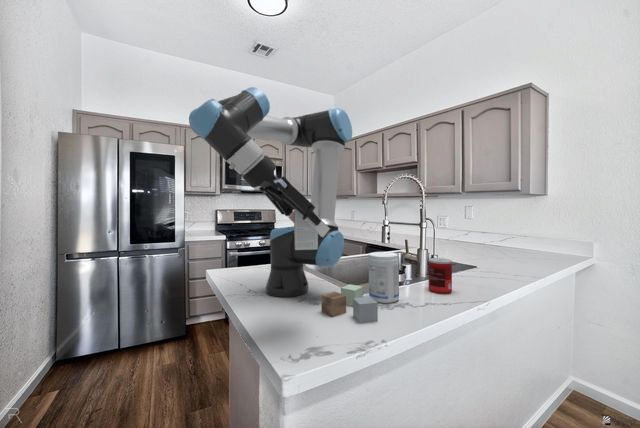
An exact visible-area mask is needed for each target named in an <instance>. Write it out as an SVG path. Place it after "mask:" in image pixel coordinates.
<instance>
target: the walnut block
mask: <svg viewBox="0 0 640 428" xmlns="http://www.w3.org/2000/svg"><path fill="white" fill-rule="evenodd" d="M320 296H321V299H320V300H321V312H322V313H323V314H326V315H328V316H329V317H331V318H334V317H338V316H341V315H343V314H347V305H346V295H343V294H341V292H337V291H331V292H327V293H324V294H321V295H320Z"/></svg>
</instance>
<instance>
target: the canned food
mask: <svg viewBox="0 0 640 428" xmlns="http://www.w3.org/2000/svg"><path fill="white" fill-rule="evenodd" d="M427 268H428V274H427V275H428V276H427V277H428V280H427V281H428V290H429V291H430V292H431V293H435V294H439V295H440V294H441V295H448V294H451V293H452V290H453V261H452V259H450V258H446V257H445V258H443V257H433V258H432V257H431V258H428V267H427Z"/></svg>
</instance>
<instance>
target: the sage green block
mask: <svg viewBox="0 0 640 428" xmlns="http://www.w3.org/2000/svg"><path fill="white" fill-rule="evenodd" d="M340 294H343V295H346V306H350V307H353V298H362V297H364V286H361V285H356V284H351V283H350V284H347V285H346V284H345V286H342V287H340Z"/></svg>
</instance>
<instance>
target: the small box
mask: <svg viewBox="0 0 640 428" xmlns="http://www.w3.org/2000/svg"><path fill="white" fill-rule="evenodd" d="M293 211H294V223H293V226H294V234H295V250H314V249H318V233H317V232H316V231H315V230H314V228H313V227H312V226H311V225H310V224H309V223H308V222H307V221H306V220H303V219H302V218H303V217H304V216H303V215H302V214H301V213H299V212H298V211H297V210H296V209H294V210H293ZM313 211H314V212H315V213H316V214H317V215H318V206H315V208H314V210H313Z"/></svg>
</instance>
